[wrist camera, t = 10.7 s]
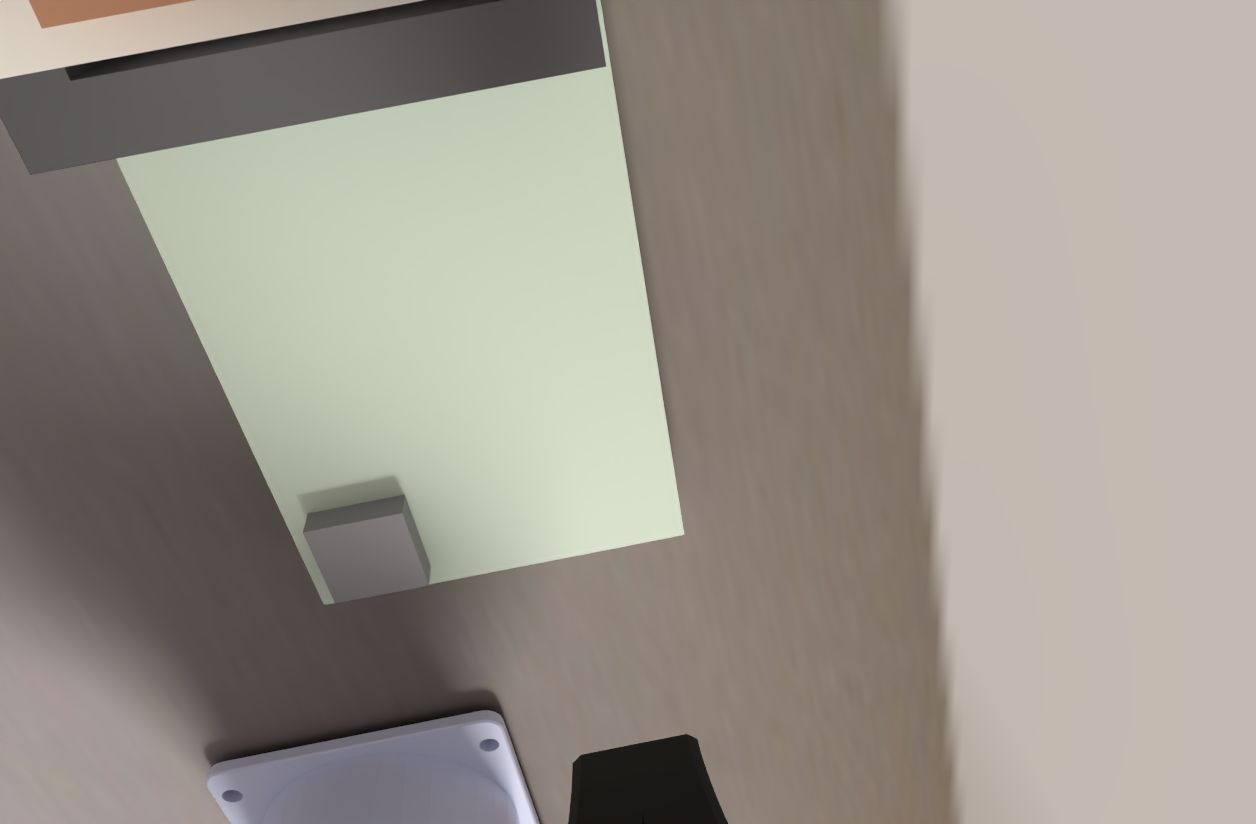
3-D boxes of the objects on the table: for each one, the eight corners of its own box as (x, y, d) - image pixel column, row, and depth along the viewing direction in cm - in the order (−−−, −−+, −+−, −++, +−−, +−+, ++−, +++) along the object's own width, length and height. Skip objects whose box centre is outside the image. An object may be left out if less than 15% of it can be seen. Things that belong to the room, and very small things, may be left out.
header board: (673, 492, 22) (710, 635, 18) (333, 558, 22) (300, 716, 18) (457, -857, 11) (437, -1208, 7) (-237, -736, 11) (-638, -1029, 7)
